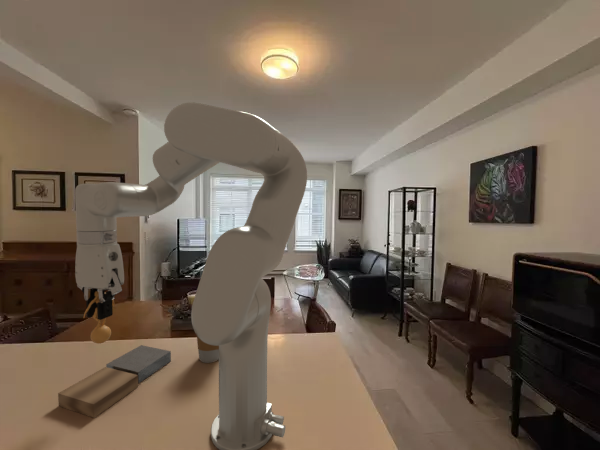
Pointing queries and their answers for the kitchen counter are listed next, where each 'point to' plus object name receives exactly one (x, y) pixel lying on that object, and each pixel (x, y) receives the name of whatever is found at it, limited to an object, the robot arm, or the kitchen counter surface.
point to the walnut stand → (98, 391)
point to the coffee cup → (207, 351)
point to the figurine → (100, 331)
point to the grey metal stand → (141, 361)
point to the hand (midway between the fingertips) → (99, 315)
